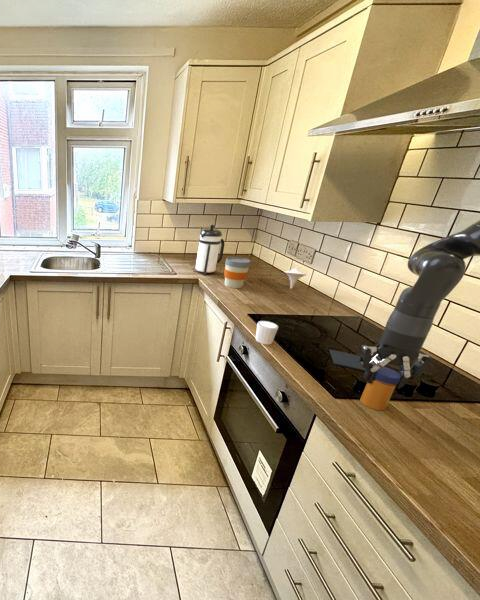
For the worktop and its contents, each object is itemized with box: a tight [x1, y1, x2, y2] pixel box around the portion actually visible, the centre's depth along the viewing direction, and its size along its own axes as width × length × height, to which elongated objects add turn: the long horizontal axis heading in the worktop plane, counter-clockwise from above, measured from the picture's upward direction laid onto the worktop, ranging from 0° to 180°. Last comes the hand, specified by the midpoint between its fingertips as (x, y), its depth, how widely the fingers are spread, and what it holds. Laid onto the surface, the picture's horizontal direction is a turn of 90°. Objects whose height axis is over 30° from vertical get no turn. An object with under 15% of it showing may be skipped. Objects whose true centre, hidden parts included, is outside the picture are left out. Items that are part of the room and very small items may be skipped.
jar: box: [359, 378, 397, 411], centre depth 86 cm, size 5×5×10 cm
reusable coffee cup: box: [223, 256, 251, 289], centre depth 175 cm, size 13×13×15 cm
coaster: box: [328, 349, 366, 372], centre depth 107 cm, size 10×10×1 cm
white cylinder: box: [255, 320, 279, 346], centre depth 119 cm, size 7×7×7 cm
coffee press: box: [194, 224, 225, 276], centre depth 196 cm, size 17×16×30 cm
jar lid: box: [374, 366, 401, 384], centre depth 84 cm, size 6×6×2 cm
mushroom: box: [283, 267, 308, 290], centre depth 171 cm, size 10×11×12 cm
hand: (381, 383), depth 85 cm, fingers closed on jar lid, 5 cm apart
